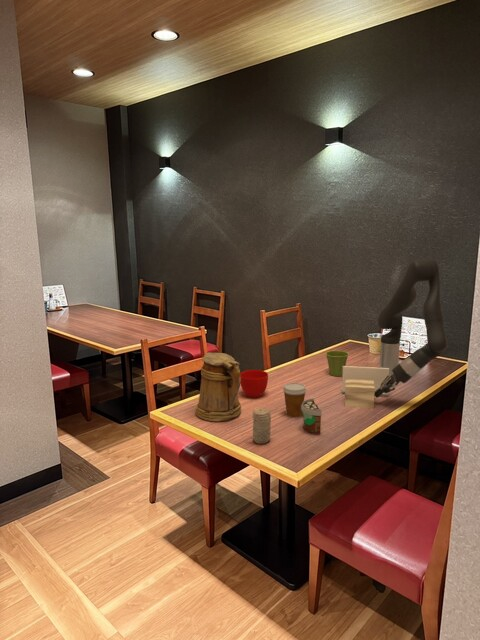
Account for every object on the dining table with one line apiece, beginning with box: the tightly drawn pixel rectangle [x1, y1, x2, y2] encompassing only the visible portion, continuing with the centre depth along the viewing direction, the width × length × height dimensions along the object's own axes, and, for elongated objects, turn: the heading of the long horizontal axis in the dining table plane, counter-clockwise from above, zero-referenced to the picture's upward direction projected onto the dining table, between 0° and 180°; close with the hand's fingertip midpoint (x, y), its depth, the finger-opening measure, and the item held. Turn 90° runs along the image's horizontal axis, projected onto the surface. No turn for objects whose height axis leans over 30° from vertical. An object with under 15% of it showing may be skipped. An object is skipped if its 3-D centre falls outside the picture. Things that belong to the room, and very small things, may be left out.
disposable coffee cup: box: [282, 382, 307, 418], centre depth 188 cm, size 10×10×12 cm
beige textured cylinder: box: [252, 407, 272, 444], centre depth 165 cm, size 6×8×12 cm
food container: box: [301, 398, 322, 435], centre depth 174 cm, size 12×6×10 cm, turn 5°
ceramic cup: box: [240, 369, 269, 399], centre depth 212 cm, size 13×17×10 cm
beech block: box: [344, 379, 375, 409], centre depth 199 cm, size 10×12×9 cm
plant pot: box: [325, 350, 350, 377], centre depth 236 cm, size 12×12×11 cm
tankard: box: [195, 352, 242, 423], centre depth 187 cm, size 18×24×25 cm
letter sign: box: [341, 365, 389, 398], centre depth 209 cm, size 6×20×13 cm, turn 77°
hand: (375, 395), depth 197 cm, fingers closed
